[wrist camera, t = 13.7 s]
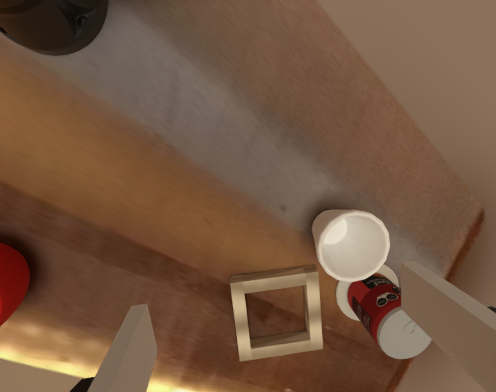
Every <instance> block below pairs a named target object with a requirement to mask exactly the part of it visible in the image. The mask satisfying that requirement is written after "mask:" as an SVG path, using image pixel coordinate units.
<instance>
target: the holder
mask: <svg viewBox="0 0 496 392" xmlns="http://www.w3.org/2000/svg"><path fill="white" fill-rule="evenodd" d="M302 285H303V292H304V306H305V319H306V331H299V332H293V333H286V334H279V335H272V336H266V337H259V338H252V339H250V338H249V329H248V320H247V312H246V303H245V295H244V293H251V292H258V291H266V290H273V289H280V288H287V287H294V286H302ZM230 286H231V294H232V301H233V309H234V317H235V325H236V333H237V341H238V349H239V357H240V361H247V360H253V359H260V358H266V357H273V356H279V355H286V354H292V353H299V352H305V351H312V350H318V349H323V342H322V326H321V310H320V294H319V278H318V271H317V269H316V268H315V267H314V265H309V266H302V267H294V268H287V269H280V270H272V271H265V272H257V273H250V274H243V275H235V276H230Z"/></svg>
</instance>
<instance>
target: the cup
mask: <svg viewBox="0 0 496 392" xmlns="http://www.w3.org/2000/svg"><path fill="white" fill-rule="evenodd" d="M312 234H313V237H314V241H315V248H316V254H317V259H318V261H319V262H320V264H321V265H322V267H323V268H324V270H325V271H326V273H327V274H329V275H331V276H332V277H334V278H335V279H337V280H340V281H346V282H355V281H359V280H364V279H366V278H368V277H369V276H371V275H372V274H374V273H376V272H377V271H378V270H379V268H380V267H381V266H382V265H383V263H384V262H385V261H386V258H387V255H388V251H389V248H390V242H389V233H388V231H387V229H386V227H385V226H384V224H383V222H382V221H381V220H379V219H378V218H377V217H375V216H374V215H372V214H371V213H368V212H365V211H360V210H355V209H352V210H333V209H331V210H327V211H324V212H322V213H321V214H319V215H318V216H317V217H316V219H315V220H314V221H313V225H312Z"/></svg>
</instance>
